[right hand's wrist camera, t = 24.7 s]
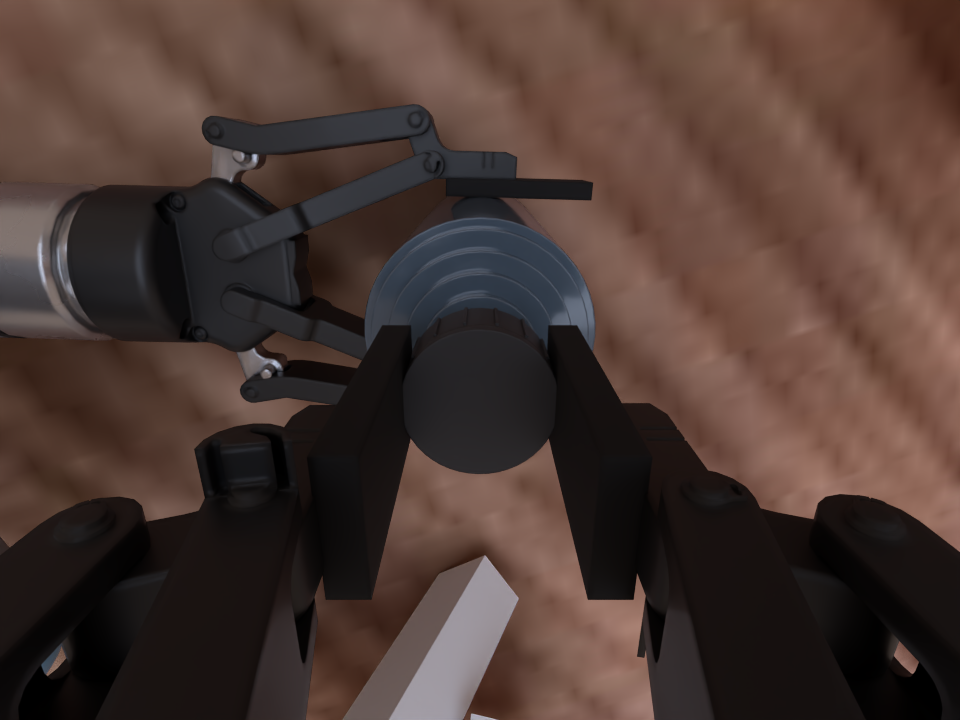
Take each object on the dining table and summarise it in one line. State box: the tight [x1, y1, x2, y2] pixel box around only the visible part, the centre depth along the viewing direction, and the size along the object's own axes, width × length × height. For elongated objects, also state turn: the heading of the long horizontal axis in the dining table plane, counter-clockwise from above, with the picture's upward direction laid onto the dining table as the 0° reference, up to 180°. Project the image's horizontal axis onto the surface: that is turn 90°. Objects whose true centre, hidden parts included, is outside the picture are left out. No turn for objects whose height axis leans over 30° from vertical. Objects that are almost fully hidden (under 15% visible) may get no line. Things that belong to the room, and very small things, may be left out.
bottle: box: [365, 196, 595, 352], centre depth 23 cm, size 8×8×21 cm
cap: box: [402, 307, 557, 474], centre depth 13 cm, size 4×4×2 cm
